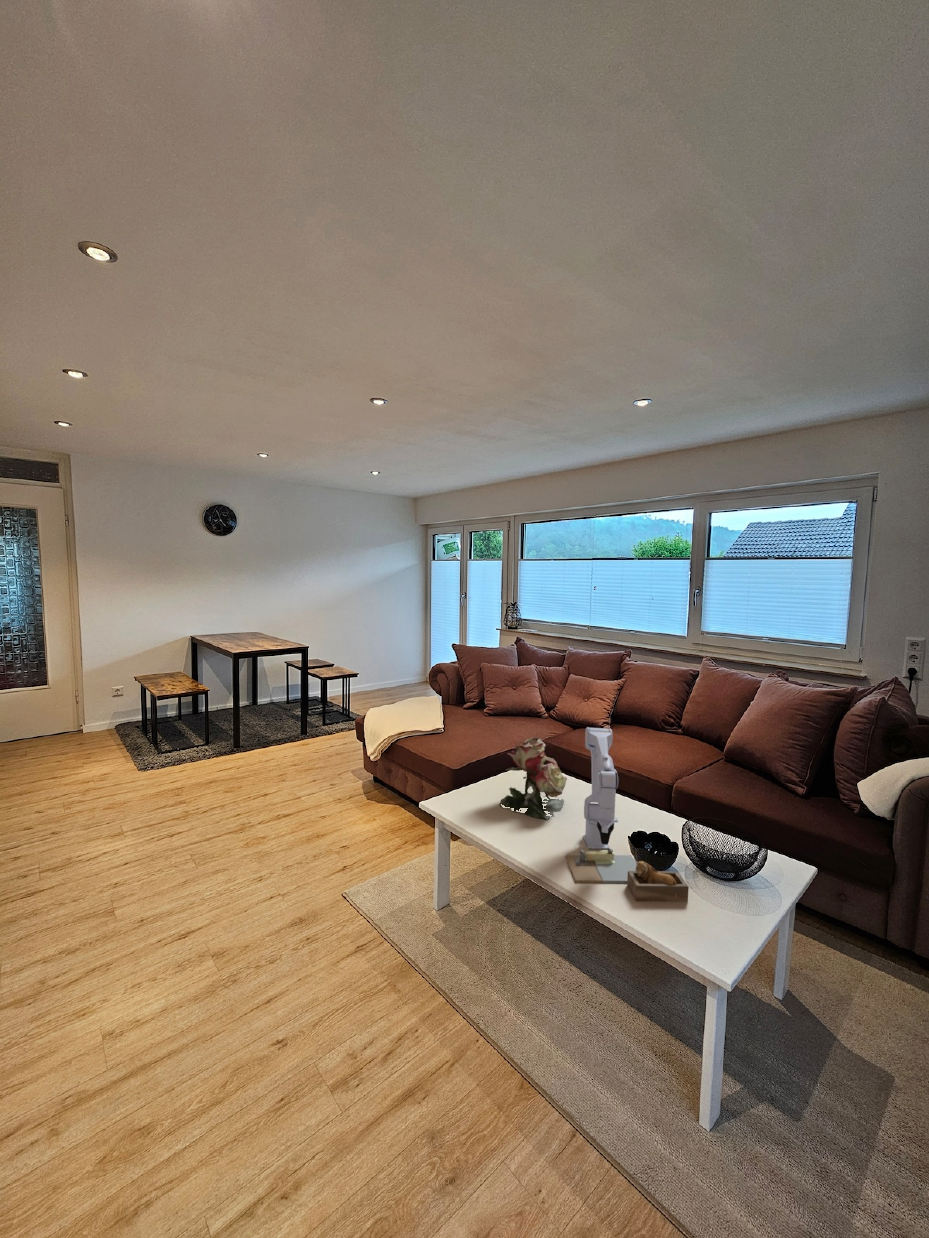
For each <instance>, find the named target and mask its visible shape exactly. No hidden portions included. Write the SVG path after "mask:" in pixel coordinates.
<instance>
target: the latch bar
mask: <svg viewBox="0 0 929 1238" xmlns="http://www.w3.org/2000/svg"><path fill="white" fill-rule="evenodd" d="M585 855H586V859H587V861H614V855H615V853H614V852H613V848H610V849H607V851H603V850H602V851H596V850H595V851H585Z"/></svg>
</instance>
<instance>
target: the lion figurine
mask: <svg viewBox="0 0 929 1238" xmlns="http://www.w3.org/2000/svg"><path fill="white" fill-rule="evenodd" d="M657 871H658V870H656V869H655V867H653V865H650V864H649V863H647V862H646V861H643V860H639V861H638V862H636V872H637V874H638V876H640V877H642V879H643V880H644V881H647V883H648V884H653V882H654V883H656V884H670V885H673V884H676V885H677V883H676V881H675V880H674V878H673V877H672V876H671V875H669V874H663V873H659V872H657ZM676 900H677V895H676V894H675V899H674V901H676ZM674 901H673V902H674Z"/></svg>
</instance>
